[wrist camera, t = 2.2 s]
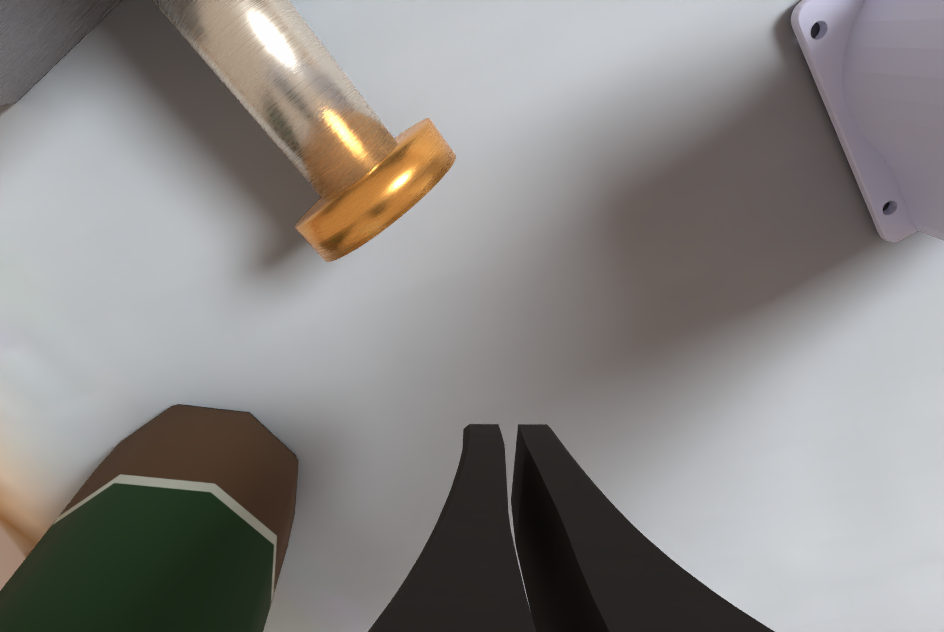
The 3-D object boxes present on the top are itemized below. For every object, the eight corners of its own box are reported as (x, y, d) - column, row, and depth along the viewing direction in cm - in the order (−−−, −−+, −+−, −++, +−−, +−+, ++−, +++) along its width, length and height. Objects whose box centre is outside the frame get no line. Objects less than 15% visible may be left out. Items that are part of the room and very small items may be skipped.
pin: (453, 141, 19) (459, 173, 14) (337, 229, 20) (309, 284, 15) (204, -206, 15) (106, -307, 10) (75, -73, 16) (-63, -115, 11)
